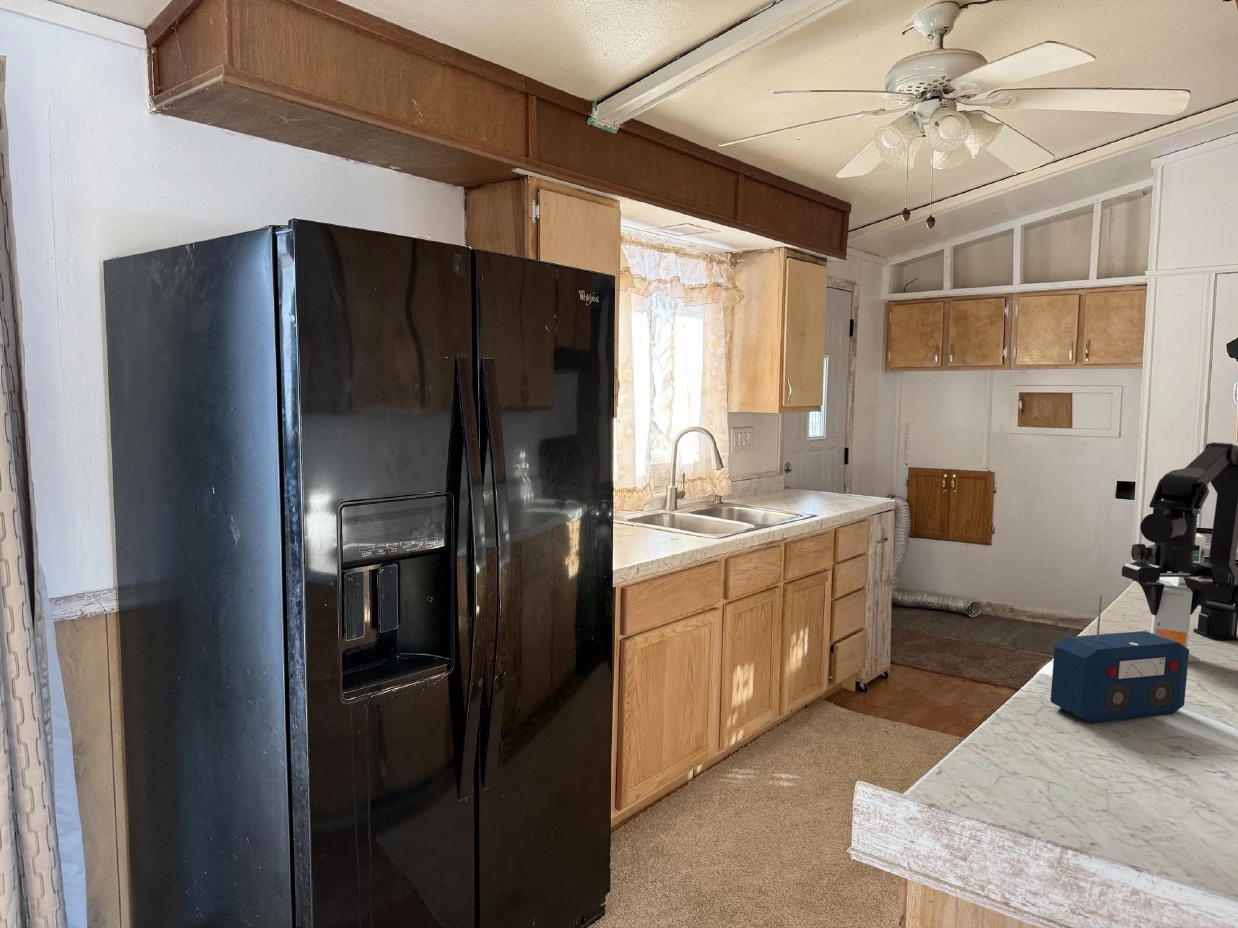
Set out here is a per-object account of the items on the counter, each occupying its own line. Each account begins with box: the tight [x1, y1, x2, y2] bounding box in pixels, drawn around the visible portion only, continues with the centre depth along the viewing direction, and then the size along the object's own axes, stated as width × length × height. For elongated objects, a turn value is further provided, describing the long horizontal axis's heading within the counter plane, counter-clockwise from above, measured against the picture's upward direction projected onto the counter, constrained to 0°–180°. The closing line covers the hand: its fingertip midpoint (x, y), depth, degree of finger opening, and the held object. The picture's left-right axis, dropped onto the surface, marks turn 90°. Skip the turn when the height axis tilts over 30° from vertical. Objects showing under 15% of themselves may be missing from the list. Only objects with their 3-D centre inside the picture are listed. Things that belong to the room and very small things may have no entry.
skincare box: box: [1150, 585, 1192, 648], centre depth 170 cm, size 6×4×12 cm
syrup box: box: [1170, 533, 1207, 588], centre depth 229 cm, size 6×6×14 cm
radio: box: [1049, 594, 1190, 724], centre depth 140 cm, size 21×9×20 cm, turn 105°
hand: (1171, 614), depth 170 cm, fingers closed on skincare box, 7 cm apart
